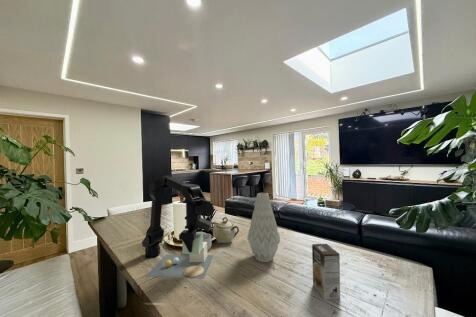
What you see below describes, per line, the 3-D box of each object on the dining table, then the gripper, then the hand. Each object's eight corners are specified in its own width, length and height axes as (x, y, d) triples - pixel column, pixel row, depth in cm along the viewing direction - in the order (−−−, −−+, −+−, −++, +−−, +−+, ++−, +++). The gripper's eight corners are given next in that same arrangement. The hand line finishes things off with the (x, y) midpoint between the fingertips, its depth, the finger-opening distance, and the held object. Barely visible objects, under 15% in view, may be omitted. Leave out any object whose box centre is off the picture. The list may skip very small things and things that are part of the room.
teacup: (207, 255, 106) (207, 240, 106) (188, 254, 108) (188, 239, 108) (215, 245, 120) (215, 231, 120) (198, 243, 122) (198, 230, 122)
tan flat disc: (180, 277, 86) (180, 276, 86) (187, 266, 95) (187, 265, 95) (200, 277, 85) (200, 276, 85) (205, 266, 94) (205, 265, 94)
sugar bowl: (244, 239, 127) (244, 215, 127) (232, 249, 114) (232, 222, 114) (218, 234, 136) (218, 212, 137) (204, 242, 123) (204, 218, 123)
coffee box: (312, 284, 80) (311, 243, 80) (327, 283, 81) (326, 242, 81) (323, 300, 71) (322, 254, 71) (341, 298, 71) (340, 253, 72)
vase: (240, 258, 102) (239, 194, 102) (260, 248, 114) (259, 190, 115) (268, 270, 91) (266, 197, 91) (286, 257, 103) (285, 193, 103)
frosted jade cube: (182, 253, 87) (182, 237, 87) (187, 246, 94) (187, 231, 94) (198, 254, 86) (198, 237, 86) (203, 247, 93) (202, 231, 93)
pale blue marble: (171, 265, 96) (171, 259, 96) (174, 262, 99) (174, 256, 99) (177, 265, 95) (177, 259, 95) (180, 262, 98) (179, 256, 98)
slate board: (144, 278, 87) (144, 276, 87) (166, 255, 107) (166, 254, 107) (204, 279, 84) (204, 278, 84) (213, 256, 105) (213, 255, 105)
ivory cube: (189, 262, 99) (189, 247, 99) (193, 255, 106) (193, 241, 106) (204, 262, 98) (203, 247, 98) (207, 255, 105) (207, 241, 105)
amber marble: (163, 268, 93) (163, 261, 93) (166, 264, 96) (166, 258, 96) (170, 268, 93) (170, 261, 93) (172, 265, 96) (172, 258, 96)
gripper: (205, 219, 80) (205, 258, 80) (214, 208, 99) (214, 240, 99) (178, 219, 81) (178, 258, 81) (192, 208, 100) (192, 240, 100)
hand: (193, 248), depth 90 cm, fingers closed on frosted jade cube, 7 cm apart
